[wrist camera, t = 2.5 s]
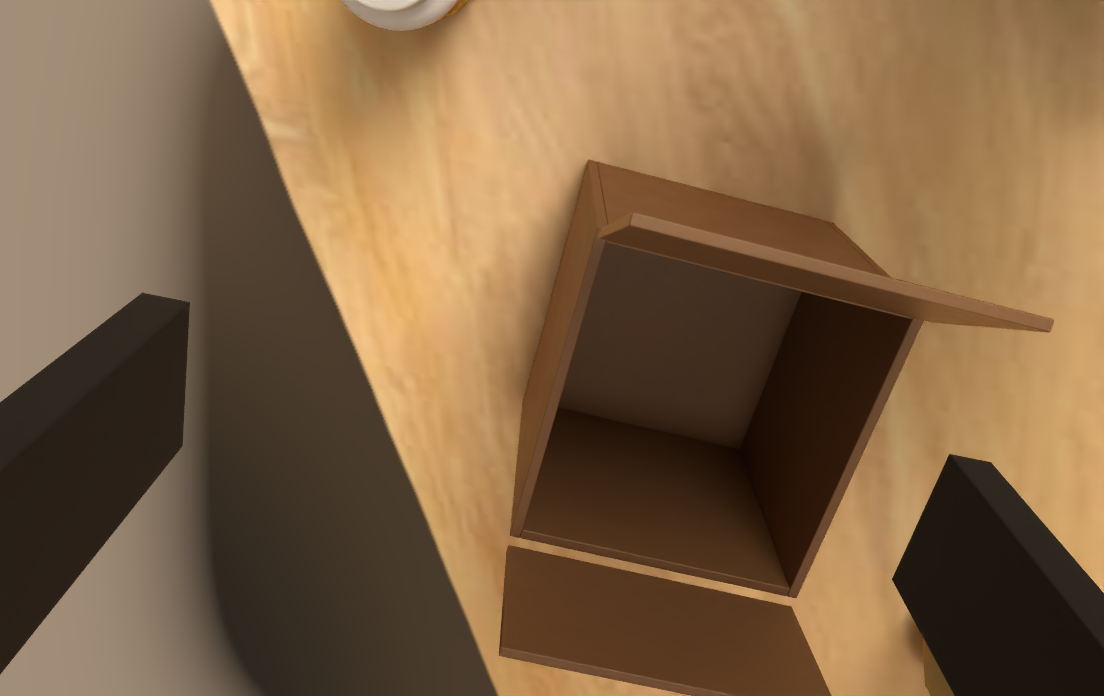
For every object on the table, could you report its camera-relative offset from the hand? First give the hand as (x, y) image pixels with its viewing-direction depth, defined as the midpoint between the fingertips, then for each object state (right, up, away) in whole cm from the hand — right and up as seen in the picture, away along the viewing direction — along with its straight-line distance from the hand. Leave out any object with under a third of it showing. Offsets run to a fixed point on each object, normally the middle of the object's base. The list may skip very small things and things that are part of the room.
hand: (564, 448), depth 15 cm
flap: (+8, +4, +13) cm, 16 cm away
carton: (+6, +3, +31) cm, 32 cm away
